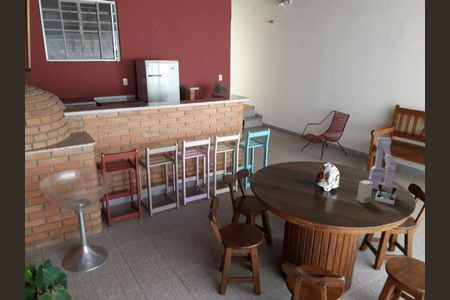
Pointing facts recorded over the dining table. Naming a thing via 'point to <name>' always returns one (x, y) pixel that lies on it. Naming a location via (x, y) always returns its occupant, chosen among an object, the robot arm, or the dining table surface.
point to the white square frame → (385, 199)
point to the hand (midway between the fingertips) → (385, 195)
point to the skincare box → (364, 191)
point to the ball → (385, 195)
